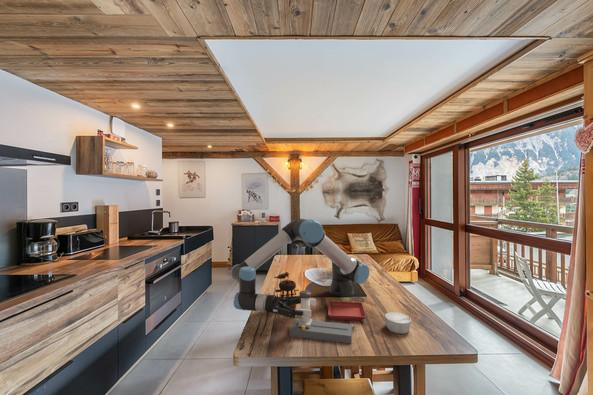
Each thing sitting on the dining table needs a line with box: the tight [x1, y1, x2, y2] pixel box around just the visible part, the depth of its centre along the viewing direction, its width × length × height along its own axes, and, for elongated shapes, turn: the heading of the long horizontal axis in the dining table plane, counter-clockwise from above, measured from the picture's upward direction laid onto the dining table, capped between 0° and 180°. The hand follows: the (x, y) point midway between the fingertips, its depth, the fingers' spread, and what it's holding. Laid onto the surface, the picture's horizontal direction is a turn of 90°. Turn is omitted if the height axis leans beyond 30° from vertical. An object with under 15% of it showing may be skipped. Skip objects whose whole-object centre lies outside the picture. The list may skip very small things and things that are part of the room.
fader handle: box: [298, 290, 313, 328], centre depth 113 cm, size 5×6×14 cm
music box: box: [273, 271, 300, 310], centre depth 140 cm, size 15×11×20 cm
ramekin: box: [384, 311, 412, 335], centre depth 116 cm, size 11×11×5 cm
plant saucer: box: [327, 300, 367, 322], centre depth 132 cm, size 18×18×3 cm
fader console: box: [289, 318, 353, 344], centre depth 111 cm, size 26×10×4 cm, turn 77°
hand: (313, 307), depth 112 cm, fingers open, 12 cm apart
